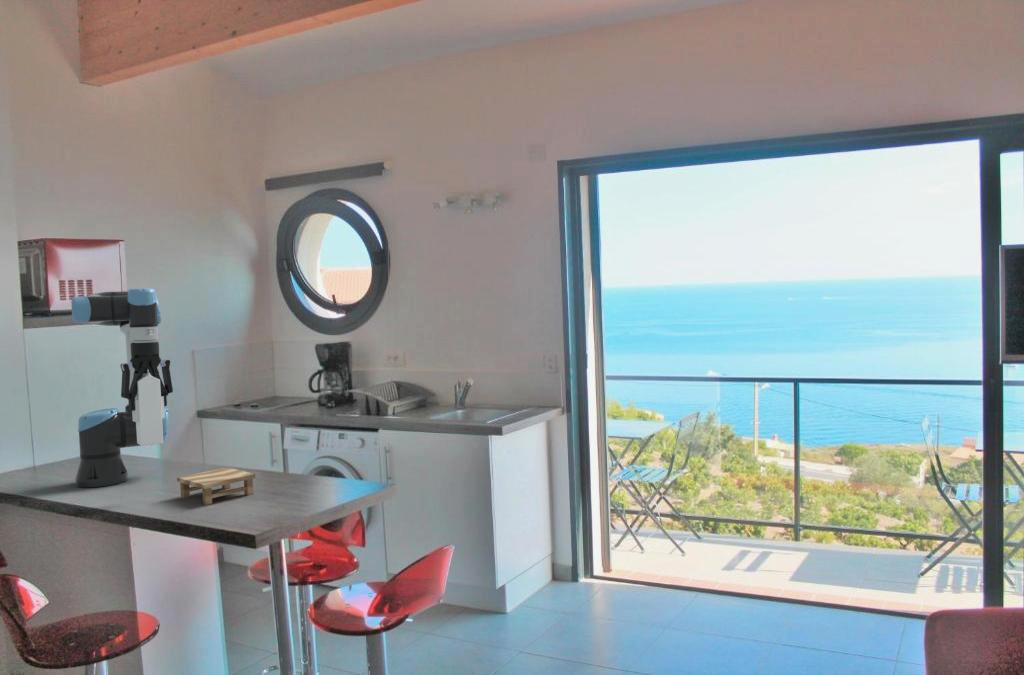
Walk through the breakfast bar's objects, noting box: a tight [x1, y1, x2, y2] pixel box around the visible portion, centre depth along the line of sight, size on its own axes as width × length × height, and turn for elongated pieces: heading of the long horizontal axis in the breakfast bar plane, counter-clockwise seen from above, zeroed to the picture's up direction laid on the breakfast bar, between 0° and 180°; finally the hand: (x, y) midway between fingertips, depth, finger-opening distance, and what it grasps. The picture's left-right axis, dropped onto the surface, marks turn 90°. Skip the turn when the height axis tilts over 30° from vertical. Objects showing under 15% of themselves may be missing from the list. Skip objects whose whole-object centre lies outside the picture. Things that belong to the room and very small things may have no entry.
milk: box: [135, 369, 164, 447], centre depth 232 cm, size 6×6×22 cm
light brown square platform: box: [176, 466, 256, 506], centre depth 235 cm, size 16×16×6 cm
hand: (148, 419), depth 233 cm, fingers closed on milk, 7 cm apart
